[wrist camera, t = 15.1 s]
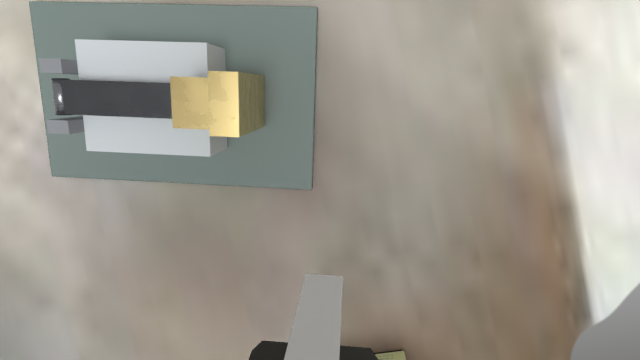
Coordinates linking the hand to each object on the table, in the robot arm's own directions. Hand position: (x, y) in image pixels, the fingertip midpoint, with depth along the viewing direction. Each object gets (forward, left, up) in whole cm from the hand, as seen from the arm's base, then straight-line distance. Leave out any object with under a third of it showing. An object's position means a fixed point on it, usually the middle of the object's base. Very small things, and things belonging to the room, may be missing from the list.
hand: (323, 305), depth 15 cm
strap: (-18, +7, -20) cm, 28 cm away
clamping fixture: (-18, +7, -26) cm, 32 cm away
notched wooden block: (-11, +7, -25) cm, 28 cm away
